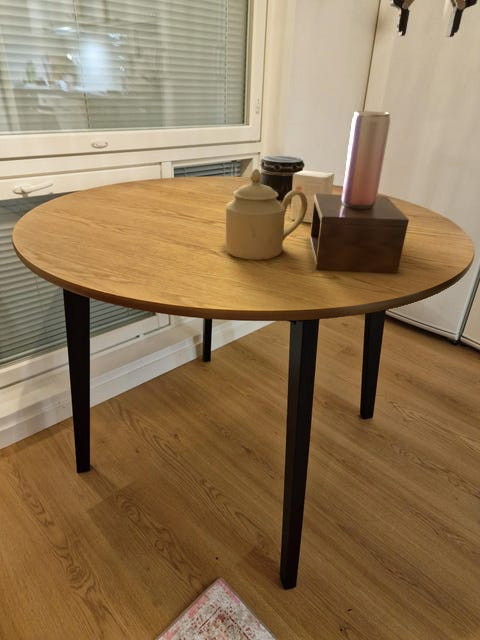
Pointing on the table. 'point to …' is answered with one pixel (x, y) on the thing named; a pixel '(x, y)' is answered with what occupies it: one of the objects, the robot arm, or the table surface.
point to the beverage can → (365, 159)
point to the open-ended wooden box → (357, 235)
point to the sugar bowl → (258, 220)
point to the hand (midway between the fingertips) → (425, 36)
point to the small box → (309, 190)
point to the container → (280, 173)
